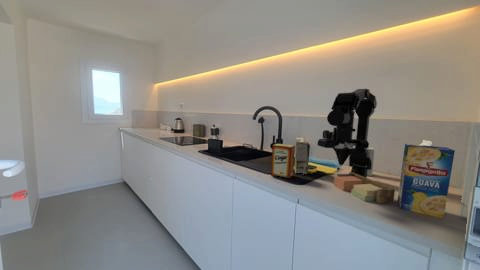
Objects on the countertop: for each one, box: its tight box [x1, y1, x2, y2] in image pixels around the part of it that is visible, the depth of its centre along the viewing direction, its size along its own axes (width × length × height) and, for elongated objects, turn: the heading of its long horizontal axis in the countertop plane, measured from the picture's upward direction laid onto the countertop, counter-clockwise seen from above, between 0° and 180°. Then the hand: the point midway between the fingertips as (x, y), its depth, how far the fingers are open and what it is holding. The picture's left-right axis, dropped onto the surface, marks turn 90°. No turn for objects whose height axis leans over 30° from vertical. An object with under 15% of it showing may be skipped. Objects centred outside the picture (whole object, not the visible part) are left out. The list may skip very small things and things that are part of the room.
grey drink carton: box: [294, 141, 311, 175], centre depth 105 cm, size 9×6×16 cm
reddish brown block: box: [333, 175, 363, 192], centre depth 85 cm, size 9×6×4 cm, turn 100°
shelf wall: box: [348, 171, 396, 204], centre depth 81 cm, size 6×21×5 cm, turn 11°
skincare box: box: [367, 146, 375, 177], centre depth 106 cm, size 8×6×15 cm
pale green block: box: [350, 184, 382, 202], centre depth 76 cm, size 9×7×4 cm
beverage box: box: [396, 143, 456, 219], centre depth 66 cm, size 7×11×22 cm, turn 57°
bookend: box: [330, 173, 354, 184], centre depth 90 cm, size 8×5×5 cm, turn 101°
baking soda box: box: [270, 143, 296, 179], centre depth 98 cm, size 10×6×16 cm
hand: (340, 164), depth 77 cm, fingers closed
